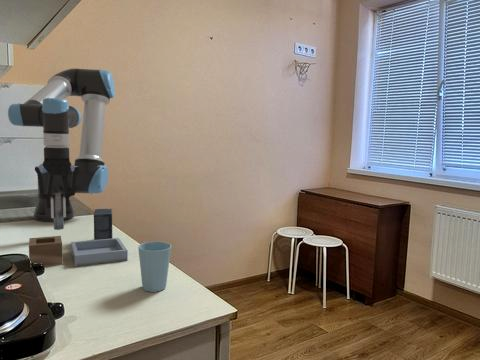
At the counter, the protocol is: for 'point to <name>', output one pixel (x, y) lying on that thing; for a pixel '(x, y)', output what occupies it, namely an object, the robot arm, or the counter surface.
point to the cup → (154, 265)
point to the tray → (98, 251)
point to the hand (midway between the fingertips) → (58, 216)
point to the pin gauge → (58, 211)
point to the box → (102, 224)
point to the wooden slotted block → (46, 250)
